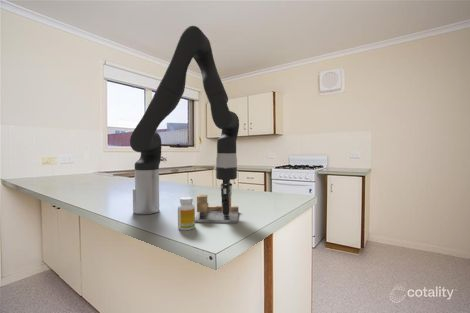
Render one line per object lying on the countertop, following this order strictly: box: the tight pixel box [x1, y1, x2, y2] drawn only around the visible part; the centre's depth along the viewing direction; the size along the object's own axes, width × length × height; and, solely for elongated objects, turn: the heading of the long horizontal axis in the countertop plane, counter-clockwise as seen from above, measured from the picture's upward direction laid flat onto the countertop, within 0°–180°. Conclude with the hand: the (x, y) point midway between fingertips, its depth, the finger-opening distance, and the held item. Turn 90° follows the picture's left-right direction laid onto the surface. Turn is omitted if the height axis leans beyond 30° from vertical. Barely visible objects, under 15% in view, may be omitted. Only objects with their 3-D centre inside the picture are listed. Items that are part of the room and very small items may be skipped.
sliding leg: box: [221, 196, 232, 216], centre depth 86 cm, size 3×4×7 cm
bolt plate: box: [195, 211, 239, 224], centre depth 87 cm, size 15×11×1 cm
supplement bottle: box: [177, 196, 196, 231], centre depth 76 cm, size 5×5×10 cm
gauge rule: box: [196, 194, 239, 216], centre depth 89 cm, size 15×11×8 cm
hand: (226, 212), depth 86 cm, fingers closed on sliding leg, 3 cm apart
